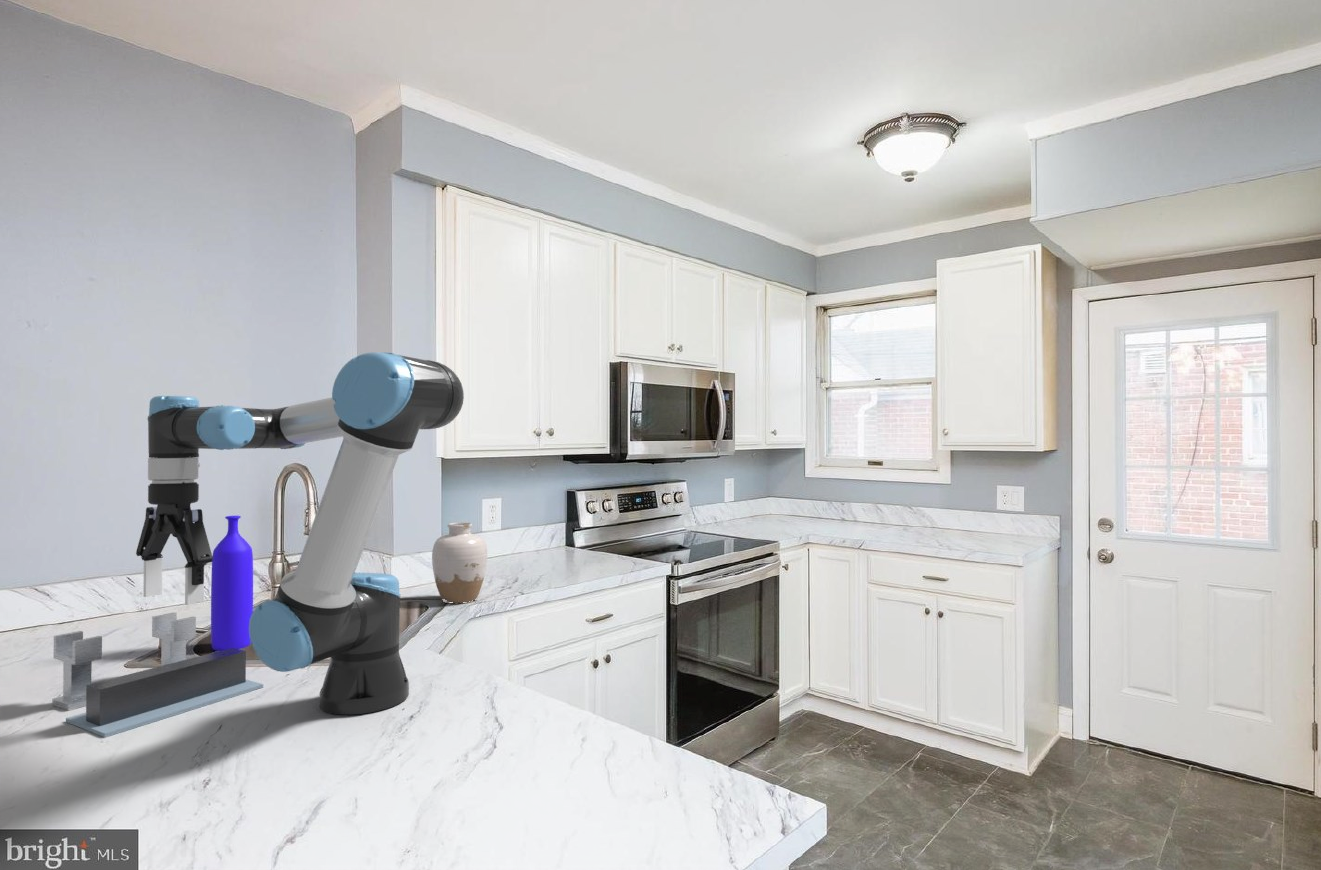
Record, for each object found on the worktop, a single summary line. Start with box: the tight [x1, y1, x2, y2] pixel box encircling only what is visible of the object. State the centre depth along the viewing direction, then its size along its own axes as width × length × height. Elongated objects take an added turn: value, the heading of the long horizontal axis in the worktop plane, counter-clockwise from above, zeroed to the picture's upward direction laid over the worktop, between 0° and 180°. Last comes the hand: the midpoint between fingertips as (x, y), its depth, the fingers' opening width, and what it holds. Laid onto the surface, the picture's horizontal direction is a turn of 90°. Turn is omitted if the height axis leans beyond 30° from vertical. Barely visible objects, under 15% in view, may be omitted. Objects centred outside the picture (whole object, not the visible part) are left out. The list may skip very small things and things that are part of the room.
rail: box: [85, 648, 247, 726], centre depth 126 cm, size 24×4×6 cm, turn 152°
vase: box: [431, 522, 488, 604], centre depth 209 cm, size 16×16×23 cm
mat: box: [65, 679, 264, 738], centre depth 126 cm, size 13×26×1 cm, turn 152°
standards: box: [51, 611, 197, 711], centre depth 133 cm, size 8×21×12 cm, turn 152°
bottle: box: [210, 515, 254, 652], centre depth 162 cm, size 8×8×30 cm
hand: (173, 599), depth 126 cm, fingers open, 13 cm apart
